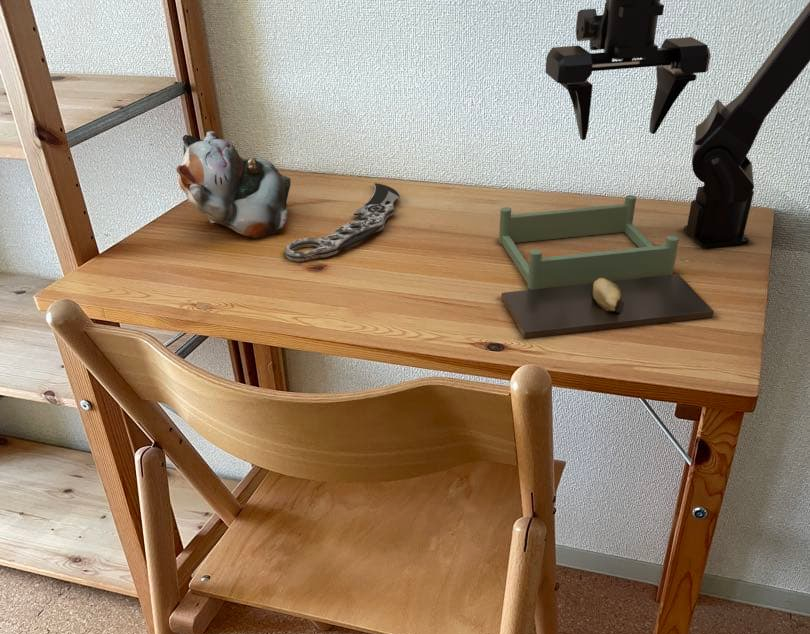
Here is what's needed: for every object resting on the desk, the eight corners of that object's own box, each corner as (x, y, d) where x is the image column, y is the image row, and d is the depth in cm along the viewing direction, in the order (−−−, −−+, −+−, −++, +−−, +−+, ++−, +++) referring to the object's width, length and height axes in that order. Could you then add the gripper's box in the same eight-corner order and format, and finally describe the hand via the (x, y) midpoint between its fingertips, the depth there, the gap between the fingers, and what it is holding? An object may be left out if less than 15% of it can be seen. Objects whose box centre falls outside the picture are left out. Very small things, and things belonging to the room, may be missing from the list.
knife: (373, 178, 130) (431, 183, 126) (374, 189, 131) (432, 194, 127) (268, 250, 112) (333, 258, 108) (271, 261, 113) (334, 270, 109)
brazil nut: (618, 315, 95) (624, 287, 93) (576, 306, 97) (581, 279, 95) (633, 305, 100) (638, 279, 98) (593, 297, 102) (598, 271, 100)
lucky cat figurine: (282, 242, 115) (218, 157, 105) (214, 269, 121) (147, 190, 111) (302, 173, 123) (244, 88, 113) (237, 201, 129) (176, 122, 119)
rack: (629, 228, 116) (634, 194, 113) (674, 275, 104) (681, 239, 101) (497, 241, 114) (499, 207, 111) (529, 290, 102) (531, 254, 99)
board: (676, 280, 103) (678, 273, 103) (712, 317, 96) (714, 310, 95) (501, 298, 101) (501, 292, 101) (524, 338, 94) (524, 332, 93)
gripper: (684, -25, 104) (662, 112, 115) (537, -15, 102) (529, 123, 113) (724, -10, 96) (697, 137, 106) (565, 2, 94) (553, 149, 104)
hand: (617, 136), depth 108 cm, fingers open, 9 cm apart
